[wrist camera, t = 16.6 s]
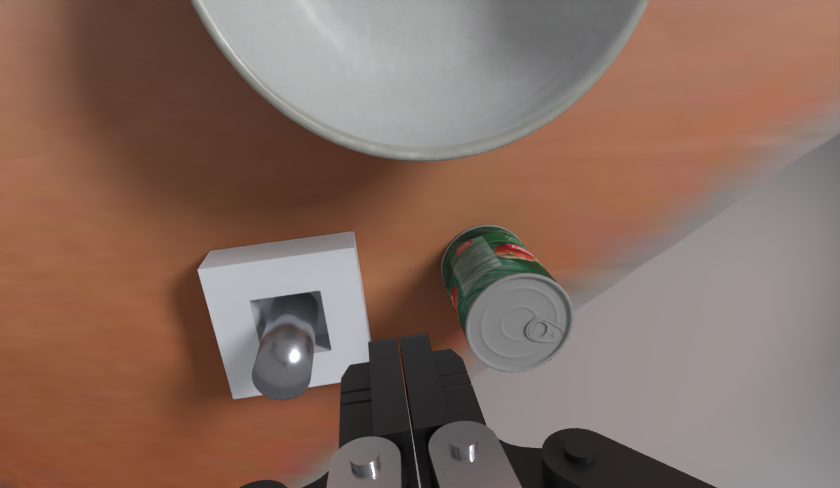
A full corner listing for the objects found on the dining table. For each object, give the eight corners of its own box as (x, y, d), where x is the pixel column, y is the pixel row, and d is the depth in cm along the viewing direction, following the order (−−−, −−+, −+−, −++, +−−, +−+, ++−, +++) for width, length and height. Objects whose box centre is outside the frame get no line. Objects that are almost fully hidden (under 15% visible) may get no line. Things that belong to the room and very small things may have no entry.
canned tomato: (427, 291, 49) (448, 357, 38) (460, 212, 46) (491, 260, 36) (506, 314, 50) (545, 384, 40) (541, 239, 48) (592, 292, 38)
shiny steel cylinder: (276, 333, 47) (258, 404, 38) (266, 292, 46) (246, 355, 36) (322, 326, 47) (315, 395, 38) (314, 285, 46) (305, 346, 37)
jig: (244, 379, 49) (235, 407, 46) (210, 250, 45) (197, 269, 41) (374, 359, 50) (376, 384, 47) (353, 230, 46) (354, 247, 42)
